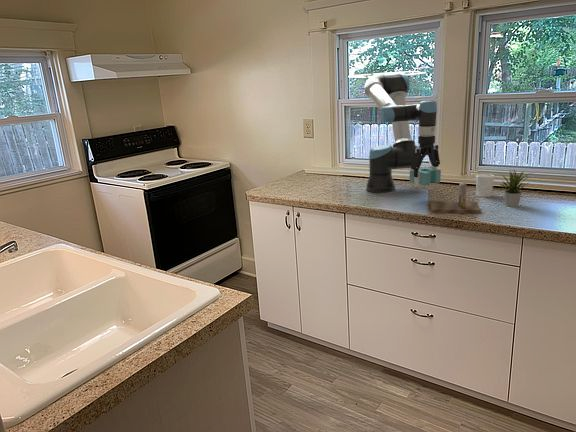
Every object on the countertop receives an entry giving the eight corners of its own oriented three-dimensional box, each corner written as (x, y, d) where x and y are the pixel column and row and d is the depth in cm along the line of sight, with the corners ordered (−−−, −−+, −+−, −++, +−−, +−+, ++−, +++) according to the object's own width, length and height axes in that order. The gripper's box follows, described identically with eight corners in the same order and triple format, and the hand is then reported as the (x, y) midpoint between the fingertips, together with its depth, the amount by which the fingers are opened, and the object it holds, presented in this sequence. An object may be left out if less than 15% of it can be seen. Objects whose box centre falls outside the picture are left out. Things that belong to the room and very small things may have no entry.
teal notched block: (409, 182, 211) (409, 170, 209) (424, 178, 215) (424, 166, 214) (425, 185, 202) (425, 173, 201) (440, 182, 207) (440, 169, 205)
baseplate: (431, 212, 190) (432, 187, 187) (429, 204, 203) (430, 180, 199) (480, 213, 185) (482, 187, 182) (476, 205, 197) (477, 180, 194)
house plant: (540, 207, 188) (545, 170, 183) (514, 211, 185) (518, 174, 180) (515, 200, 201) (518, 165, 197) (490, 204, 198) (493, 168, 193)
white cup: (494, 197, 208) (496, 177, 205) (476, 197, 209) (478, 177, 206) (490, 193, 215) (492, 173, 212) (473, 193, 217) (474, 173, 214)
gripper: (415, 138, 193) (413, 187, 200) (450, 132, 204) (447, 179, 211) (403, 137, 200) (401, 184, 207) (437, 131, 210) (434, 176, 217)
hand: (424, 181), depth 209 cm, fingers closed on teal notched block, 10 cm apart
